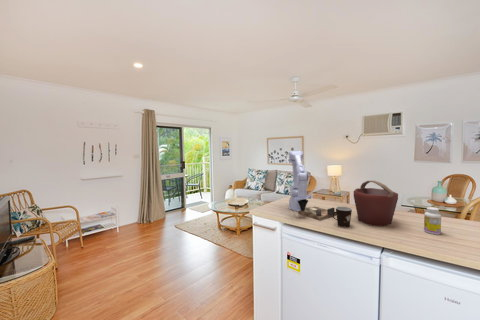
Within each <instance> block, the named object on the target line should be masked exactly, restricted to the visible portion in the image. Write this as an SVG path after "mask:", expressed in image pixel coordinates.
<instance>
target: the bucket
mask: <svg viewBox="0 0 480 320" xmlns="http://www.w3.org/2000/svg"><path fill="white" fill-rule="evenodd" d="M369 183H374V184H375V185H378V186H380V187H381V188H382V189H381V188H374V187H373V188H372V187H370V188H369V187H367V188H366V186H367V185H368V184H369ZM353 200H354V205H355V210H356V214H357V218H358V222H361V223H363V224H366V225H368V226H375V227H387V226H390V225H392V223H393V220H394V215H395V212H396V208H397V204H398V200H399V193H397V192H396V191H393V190H392V189H390V188H389V187H388V186H387V185H385V184H384V183H382V182H380V181H376V180H366V181H363V182H362V183H361V185H360V187H358V188H355V189H354V190H353Z"/></svg>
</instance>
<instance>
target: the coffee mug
mask: <svg viewBox="0 0 480 320" xmlns="http://www.w3.org/2000/svg"><path fill="white" fill-rule="evenodd" d="M352 211H353V209H352V208H351V207H348V206H336V207H335V212H334V213H333V217H332V218H333V219H334V220H335V221H336V222H337V226H339V227H341V228H350V226H351V220H352ZM335 213H336V216H334V214H335Z"/></svg>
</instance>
